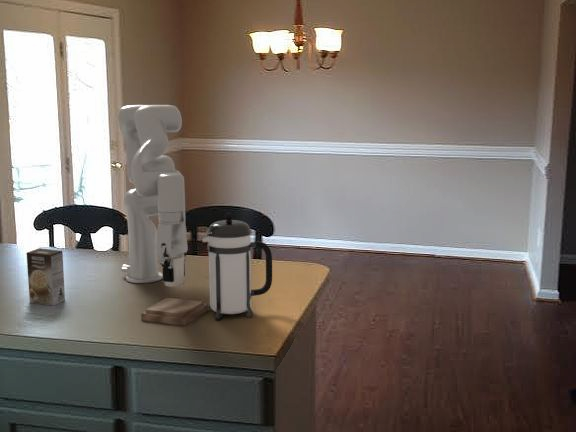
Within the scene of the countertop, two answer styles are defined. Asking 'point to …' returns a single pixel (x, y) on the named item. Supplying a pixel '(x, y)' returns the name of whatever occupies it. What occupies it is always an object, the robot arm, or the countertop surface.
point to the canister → (177, 271)
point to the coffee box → (45, 276)
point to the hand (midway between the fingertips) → (174, 278)
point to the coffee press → (233, 267)
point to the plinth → (174, 311)
